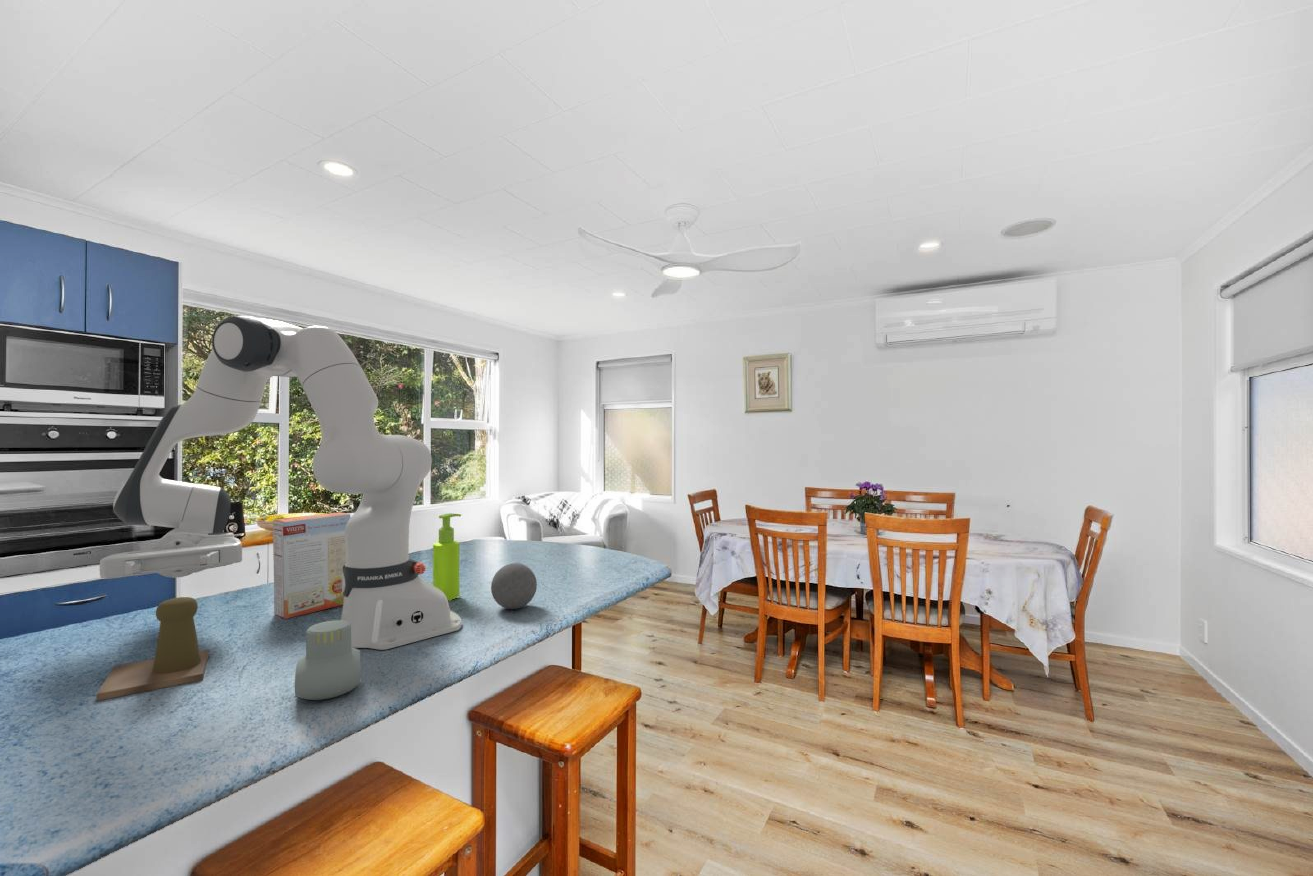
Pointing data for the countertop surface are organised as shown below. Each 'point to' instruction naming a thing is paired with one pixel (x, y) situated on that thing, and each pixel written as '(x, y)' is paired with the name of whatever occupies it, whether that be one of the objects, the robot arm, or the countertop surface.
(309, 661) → the air freshener
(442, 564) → the soap dispenser
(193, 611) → the cork
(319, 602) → the cracker box
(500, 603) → the decorative ball
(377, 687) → the countertop surface
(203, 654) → the walnut board
